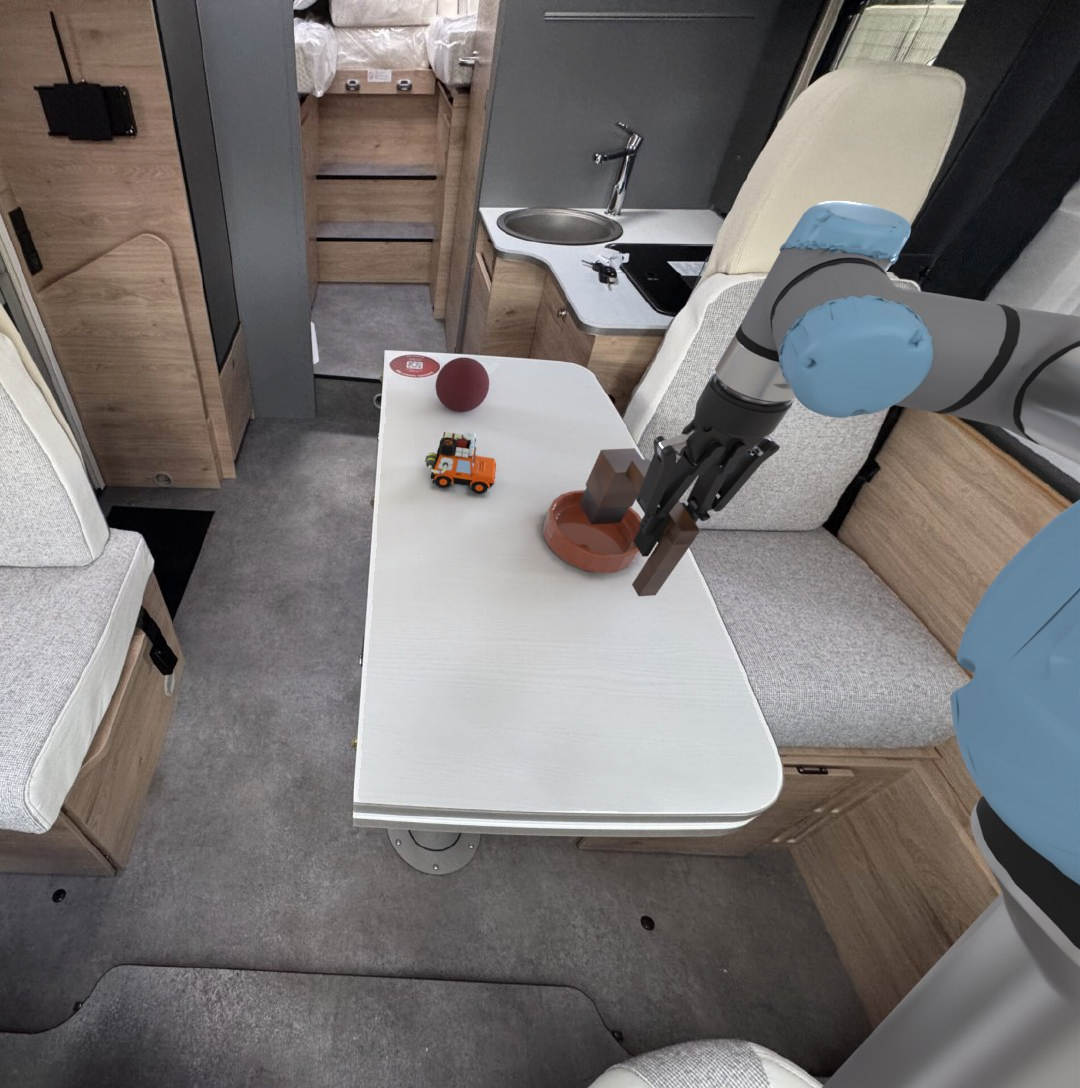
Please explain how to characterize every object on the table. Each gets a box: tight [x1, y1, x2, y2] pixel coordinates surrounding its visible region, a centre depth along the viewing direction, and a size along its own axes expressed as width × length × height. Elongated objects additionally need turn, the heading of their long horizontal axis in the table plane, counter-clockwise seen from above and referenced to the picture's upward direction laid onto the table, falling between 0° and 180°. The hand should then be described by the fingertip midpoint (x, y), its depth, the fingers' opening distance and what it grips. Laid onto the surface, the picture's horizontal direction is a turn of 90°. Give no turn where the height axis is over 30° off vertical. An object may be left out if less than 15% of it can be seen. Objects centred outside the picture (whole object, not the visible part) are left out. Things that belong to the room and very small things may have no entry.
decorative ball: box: [435, 356, 490, 413], centre depth 108 cm, size 10×10×10 cm
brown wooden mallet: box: [580, 447, 701, 597], centre depth 76 cm, size 18×5×12 cm, turn 6°
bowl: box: [542, 489, 643, 574], centre depth 87 cm, size 14×14×4 cm
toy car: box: [424, 431, 498, 495], centre depth 94 cm, size 7×12×9 cm, turn 80°
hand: (652, 547), depth 73 cm, fingers closed on brown wooden mallet, 2 cm apart
